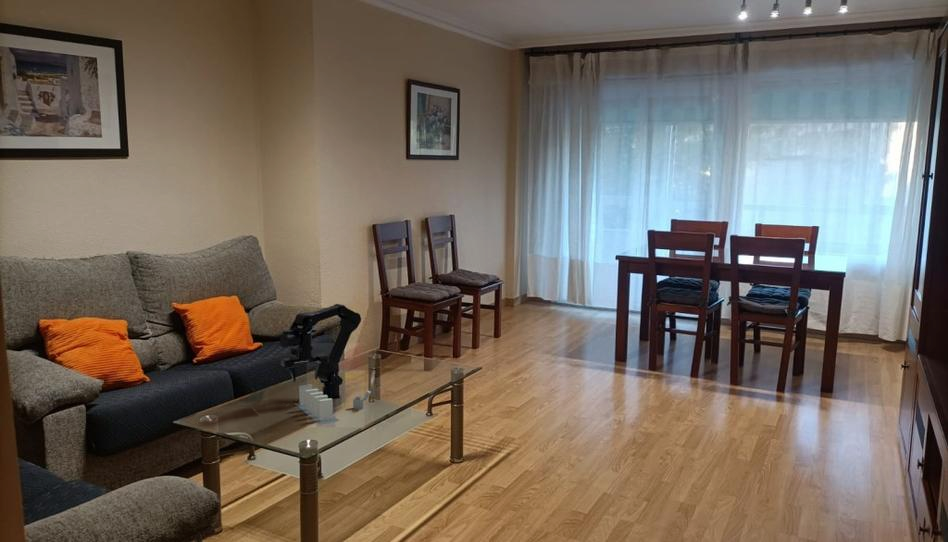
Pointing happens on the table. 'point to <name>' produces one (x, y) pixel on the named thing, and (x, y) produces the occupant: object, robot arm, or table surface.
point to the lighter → (360, 401)
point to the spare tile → (303, 393)
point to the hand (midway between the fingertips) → (305, 380)
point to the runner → (303, 407)
